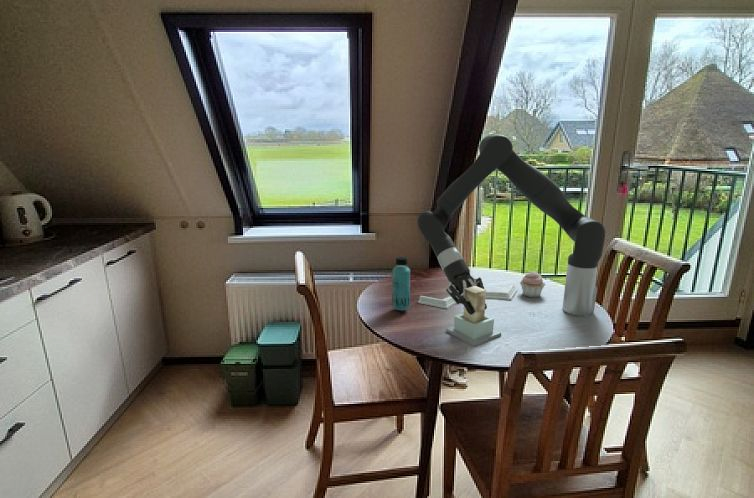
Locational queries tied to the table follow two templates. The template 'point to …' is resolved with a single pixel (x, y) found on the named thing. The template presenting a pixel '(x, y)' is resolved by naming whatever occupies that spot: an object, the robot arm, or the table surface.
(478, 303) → the wooden block
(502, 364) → the table surface
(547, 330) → the table surface
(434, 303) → the molding
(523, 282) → the cupcake
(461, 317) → the square socket base
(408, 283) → the beverage bottle
